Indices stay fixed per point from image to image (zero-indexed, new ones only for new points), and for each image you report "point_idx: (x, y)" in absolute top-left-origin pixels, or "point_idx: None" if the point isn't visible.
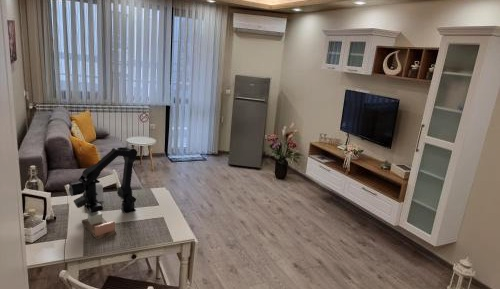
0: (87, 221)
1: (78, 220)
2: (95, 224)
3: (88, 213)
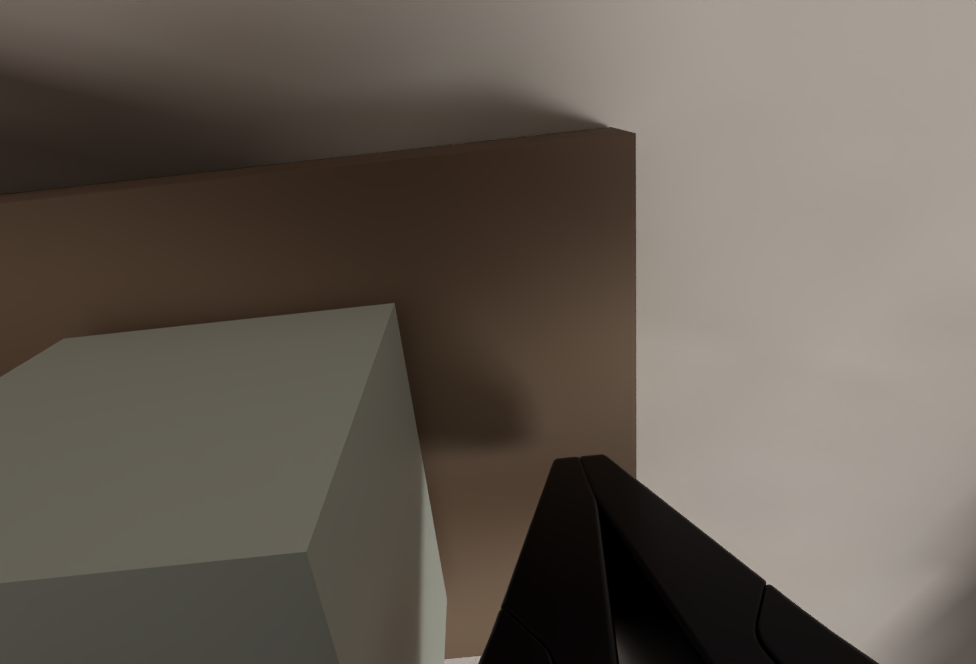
0: (423, 287)
1: (822, 58)
2: None
3: (210, 588)
